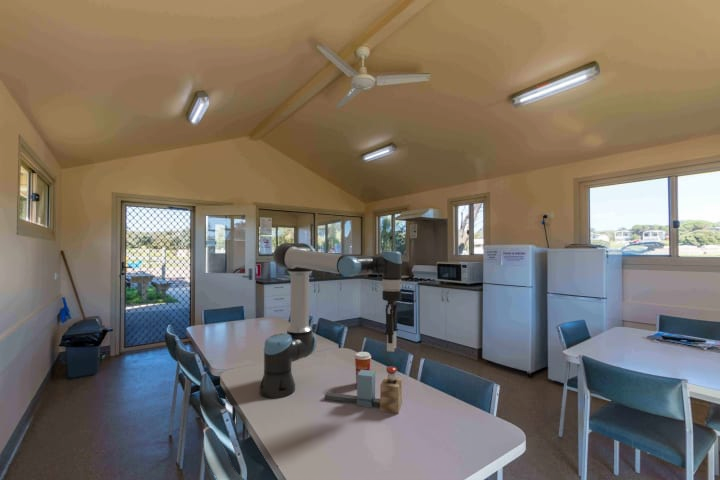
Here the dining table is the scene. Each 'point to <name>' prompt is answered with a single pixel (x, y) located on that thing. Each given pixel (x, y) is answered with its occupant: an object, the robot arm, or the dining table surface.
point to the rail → (348, 399)
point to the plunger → (391, 374)
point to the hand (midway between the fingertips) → (391, 349)
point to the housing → (391, 396)
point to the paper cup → (362, 362)
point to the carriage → (365, 388)
